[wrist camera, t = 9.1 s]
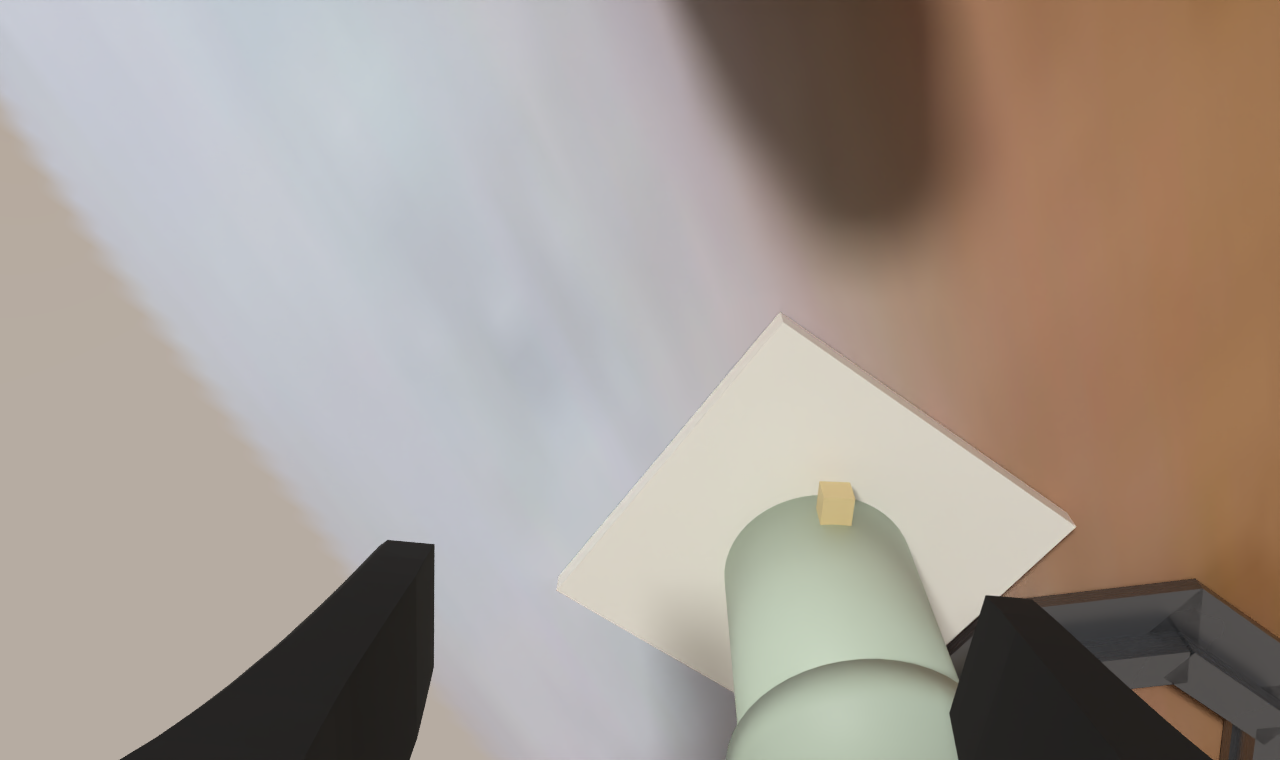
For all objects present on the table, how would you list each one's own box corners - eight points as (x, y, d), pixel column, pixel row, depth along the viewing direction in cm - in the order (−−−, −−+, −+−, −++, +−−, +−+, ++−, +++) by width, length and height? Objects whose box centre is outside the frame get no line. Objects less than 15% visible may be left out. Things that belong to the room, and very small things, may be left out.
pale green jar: (905, 671, 26) (983, 920, 19) (705, 663, 26) (718, 910, 19) (942, 473, 23) (1046, 686, 17) (720, 465, 23) (740, 675, 17)
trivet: (1066, 512, 24) (1076, 526, 24) (828, 732, 28) (831, 749, 27) (779, 312, 22) (783, 322, 22) (559, 575, 25) (556, 590, 25)
